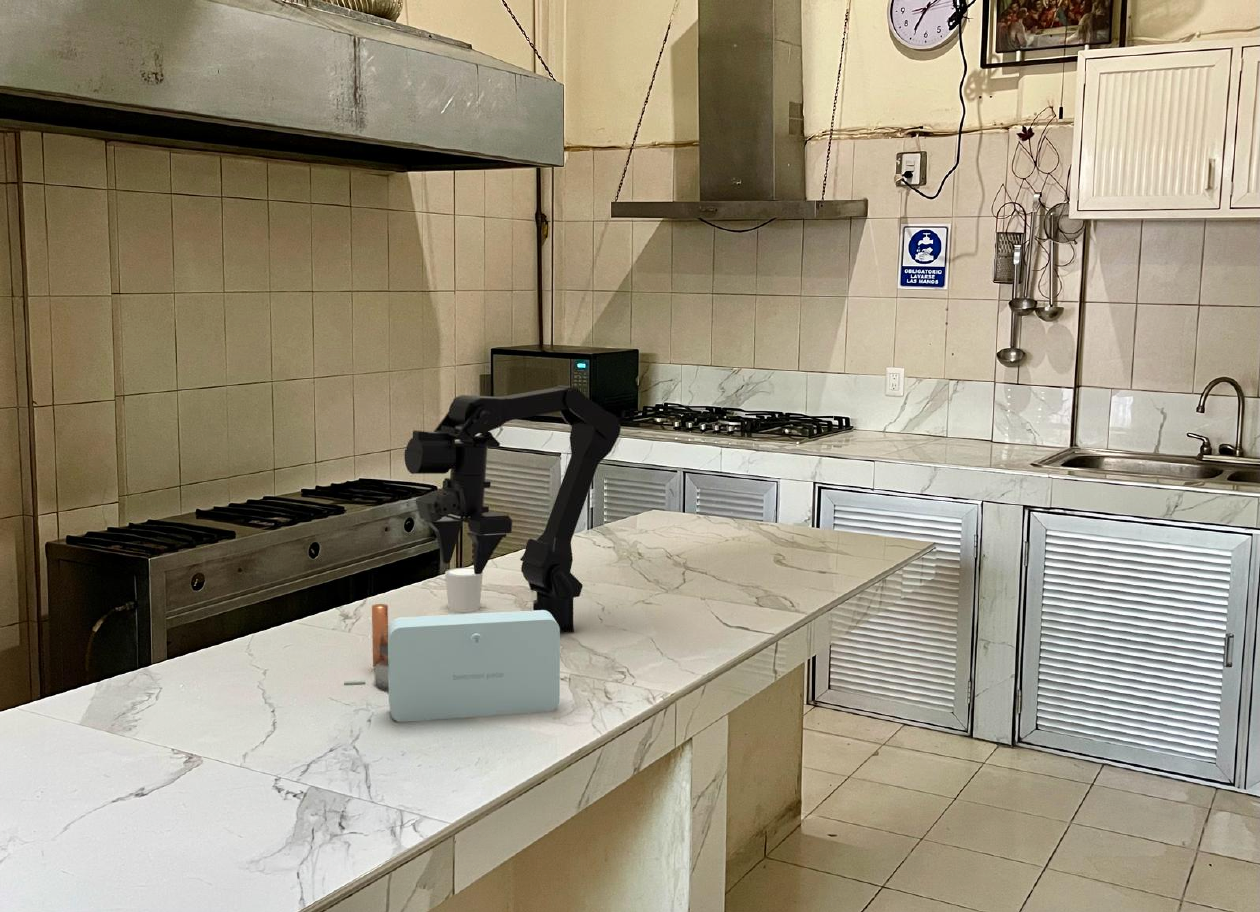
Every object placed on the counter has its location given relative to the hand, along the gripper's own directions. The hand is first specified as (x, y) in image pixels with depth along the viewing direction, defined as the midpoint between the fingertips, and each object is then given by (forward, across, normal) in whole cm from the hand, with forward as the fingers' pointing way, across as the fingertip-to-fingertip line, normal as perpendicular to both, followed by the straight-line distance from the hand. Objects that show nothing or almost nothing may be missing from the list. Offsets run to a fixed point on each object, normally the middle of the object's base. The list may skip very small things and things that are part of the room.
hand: (461, 568), depth 197 cm
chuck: (+14, +10, -15) cm, 23 cm away
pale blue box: (+14, +26, -14) cm, 33 cm away
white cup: (+12, -20, +14) cm, 27 cm away
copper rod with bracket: (+14, +4, -15) cm, 21 cm away
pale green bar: (+15, +6, -22) cm, 27 cm away
